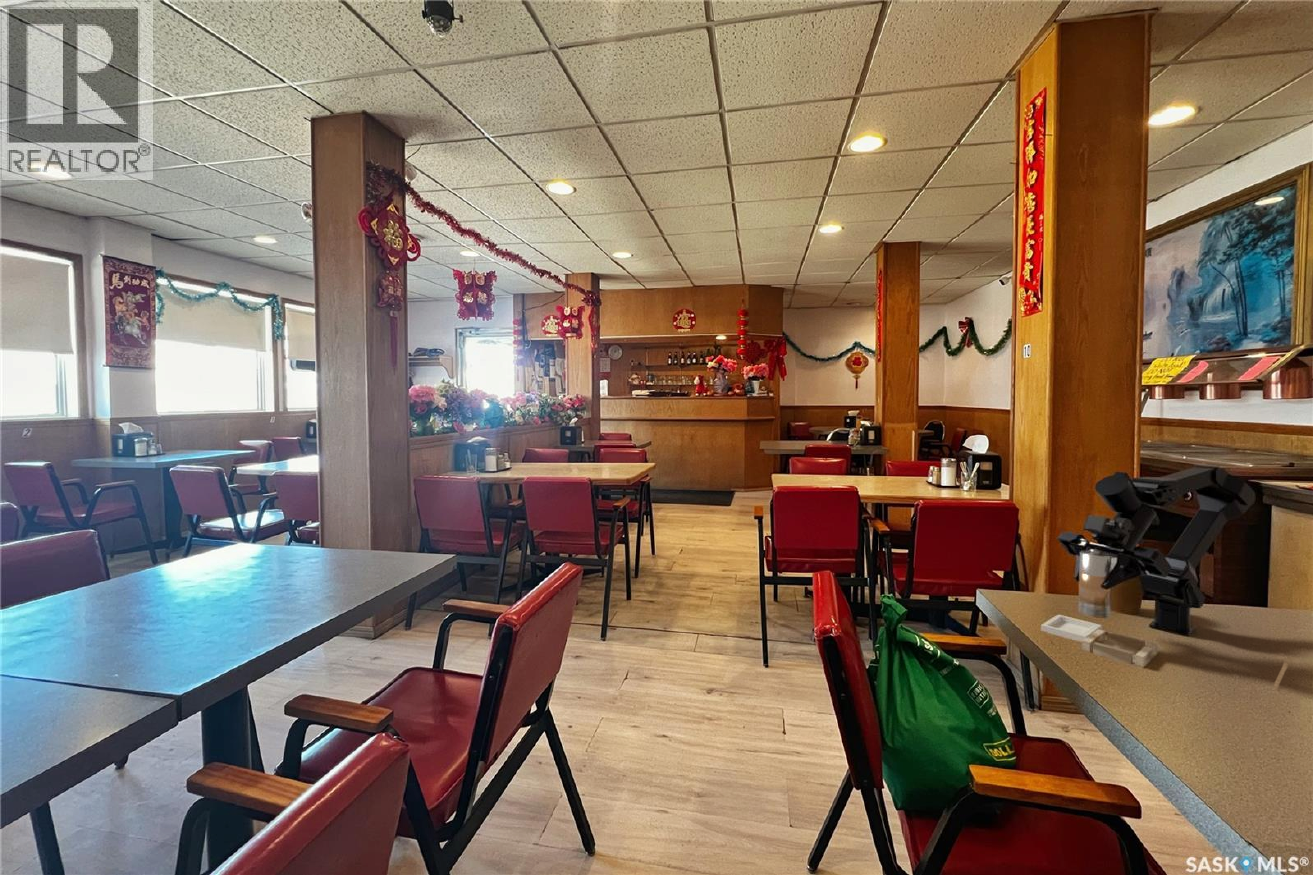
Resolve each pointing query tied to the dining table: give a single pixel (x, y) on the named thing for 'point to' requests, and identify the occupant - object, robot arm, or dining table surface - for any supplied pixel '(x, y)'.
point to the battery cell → (1094, 583)
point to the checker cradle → (1120, 648)
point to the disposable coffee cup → (1126, 595)
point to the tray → (1070, 627)
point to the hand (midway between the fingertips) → (1089, 583)
